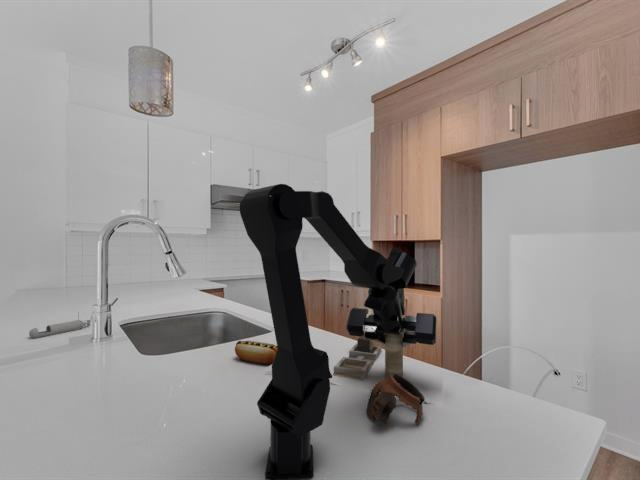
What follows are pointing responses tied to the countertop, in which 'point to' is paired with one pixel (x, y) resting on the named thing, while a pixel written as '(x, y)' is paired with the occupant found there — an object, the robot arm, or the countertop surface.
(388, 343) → the beige round canister
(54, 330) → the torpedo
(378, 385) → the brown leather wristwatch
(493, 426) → the countertop surface
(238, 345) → the hot dog
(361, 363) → the double slot holder
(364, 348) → the long tan cylinder
